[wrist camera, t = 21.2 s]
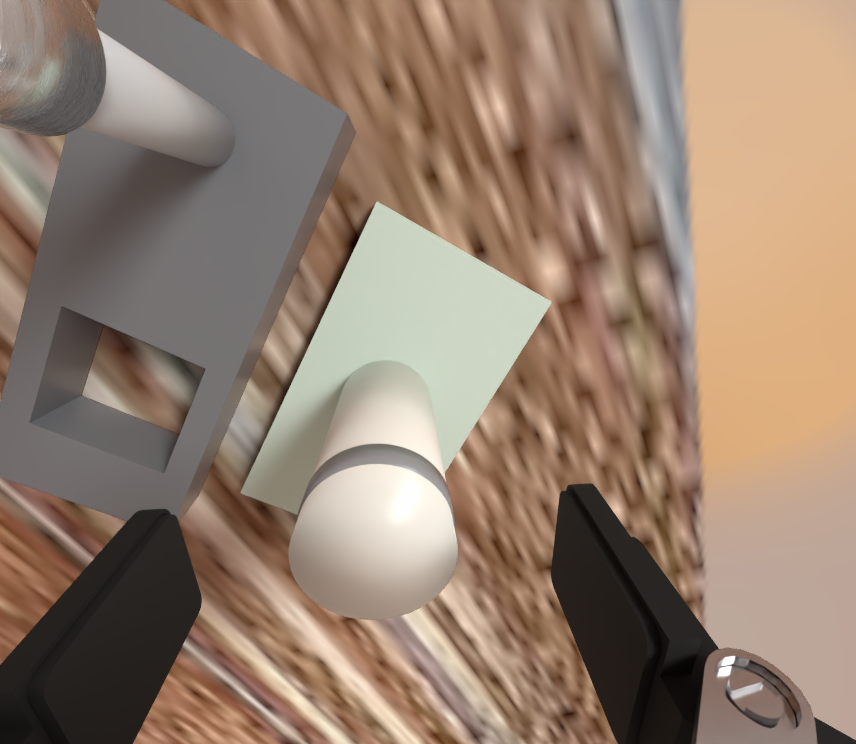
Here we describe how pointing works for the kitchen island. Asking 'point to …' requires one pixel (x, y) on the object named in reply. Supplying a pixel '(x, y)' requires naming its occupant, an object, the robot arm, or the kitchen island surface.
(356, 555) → the plug
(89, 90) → the silver metal bar
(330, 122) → the gray base with post
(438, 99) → the kitchen island surface
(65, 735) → the robot arm
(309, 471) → the mat
